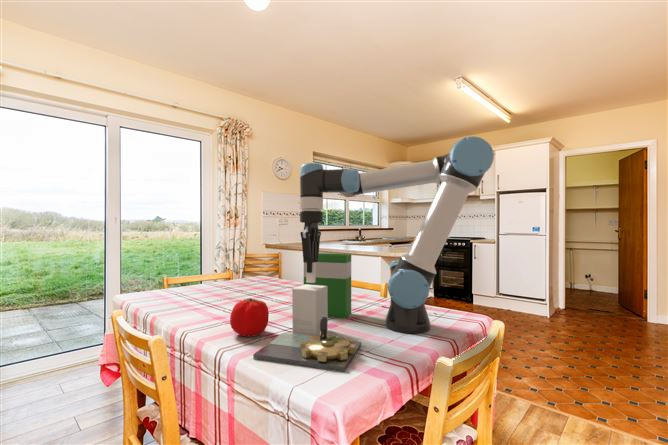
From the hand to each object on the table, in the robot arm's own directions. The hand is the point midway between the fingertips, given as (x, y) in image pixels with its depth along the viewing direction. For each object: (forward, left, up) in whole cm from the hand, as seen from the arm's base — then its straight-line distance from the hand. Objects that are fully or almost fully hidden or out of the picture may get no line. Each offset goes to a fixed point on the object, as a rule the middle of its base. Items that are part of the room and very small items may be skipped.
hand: (310, 282), depth 106 cm
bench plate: (-6, +15, -17) cm, 23 cm away
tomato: (+18, +7, -17) cm, 26 cm away
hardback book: (+2, -24, -17) cm, 29 cm away
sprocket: (-12, +16, -15) cm, 25 cm away
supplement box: (0, -1, -17) cm, 17 cm away
